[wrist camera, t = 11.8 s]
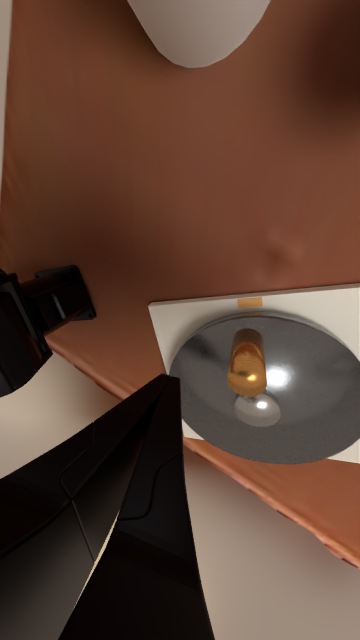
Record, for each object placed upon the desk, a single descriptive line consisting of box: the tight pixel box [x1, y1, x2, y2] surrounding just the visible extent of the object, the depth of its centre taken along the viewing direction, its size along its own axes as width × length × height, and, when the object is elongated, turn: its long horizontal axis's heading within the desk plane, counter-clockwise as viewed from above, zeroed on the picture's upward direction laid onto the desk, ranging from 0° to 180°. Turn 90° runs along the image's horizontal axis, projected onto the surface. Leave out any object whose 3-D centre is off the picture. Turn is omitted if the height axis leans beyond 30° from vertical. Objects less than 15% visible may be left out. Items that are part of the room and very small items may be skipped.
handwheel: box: [169, 311, 360, 464], centre depth 19 cm, size 18×18×6 cm
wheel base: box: [148, 283, 360, 463], centre depth 22 cm, size 20×20×2 cm
